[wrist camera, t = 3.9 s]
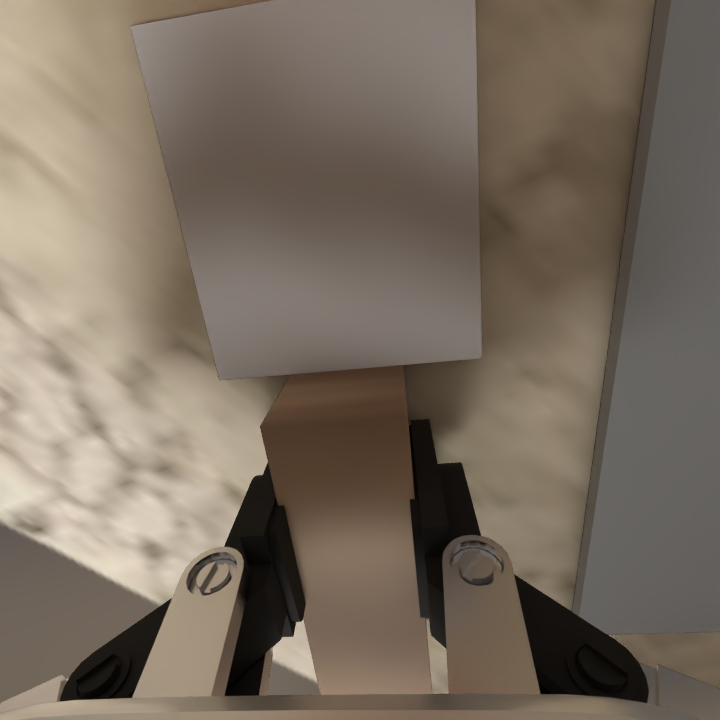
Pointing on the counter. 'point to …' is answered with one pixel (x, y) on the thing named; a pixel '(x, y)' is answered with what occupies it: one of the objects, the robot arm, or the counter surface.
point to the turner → (332, 271)
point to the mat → (663, 358)
